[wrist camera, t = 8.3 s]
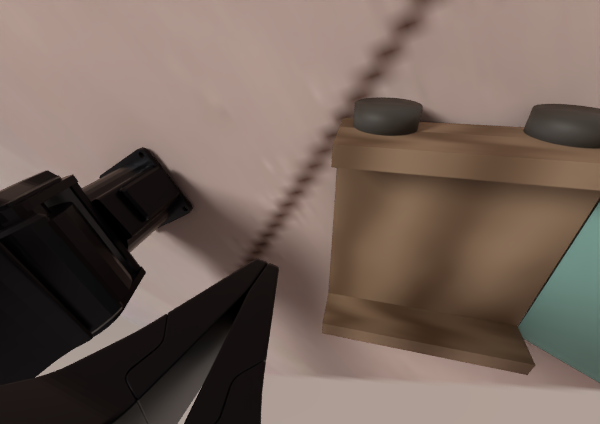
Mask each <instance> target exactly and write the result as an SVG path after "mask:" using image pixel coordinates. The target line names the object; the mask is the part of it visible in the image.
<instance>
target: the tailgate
mask: <svg viewBox="0 0 600 424" xmlns="http://www.w3.org/2000/svg"><path fill="white" fill-rule="evenodd" d="M518 329H519V331H520V333H521V335H522V337H523V339H525V340H527V341H528V342H530V343H532V344H533V345H535V346H537V347H539V348H540V349H542V350H544V351H545V352H547V353H549V354H551V355H552V356H554V357H556V358H558V359H559V360H561V361H563V362H564V363H566V364H568V365H570V366H571V367H573V368H575V369H576V370H578V371H580V372H582V373H583V374H585V375H587V376H589V377H590V378H592V379H594V380H595V381H597V382H599V383H600V200H599V201H598V203H597V204H596V206H595V207H594V209H593V211H592V212H591V214H590V215H589V217H588V218H587V220H586V221H585V223H584V224H583V226H582V228H581V229H580V231H579V232H578V234H577V235H576V237H575V238H574V240H573V241H572V243H571V245H570V246H569V248H568V249H567V251H566V252H565V254H564V255H563V257H562V259H561V260H560V262H559V263H558V265H557V266H556V268H555V269H554V271H553V272H552V274H551V276H550V277H549V279H548V280H547V282H546V283H545V285H544V286H543V288H542V289H541V291H540V293H539V294H538V296H537V297H536V299H535V300H534V302H533V303H532V305H531V306H530V308H529V310H528V311H527V313H526V314H525V316H524V317H523V319H522V320H521V322H520V324H519V325H518Z"/></svg>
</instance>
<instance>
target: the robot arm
mask: <svg viewBox="0 0 600 424" xmlns="http://www.w3.org/2000/svg"><path fill="white" fill-rule="evenodd" d="M142 153H143V154H144V155H143V154H142ZM77 182H78V181H77V179H76V178H75V177H74V175H70V176H66V177H63V178H61V177H60V176H57V175H55V174H53V173H51V172H49V171H48V170H47V171H44V172H41V173H39V174H36V175H34V176H32V177H29V178H27V179H25V180H22V181H20V182H18V183H16V184H13V185H11V186H9V187H7V188H5V189H3V190H1V191H0V424H178V422H179V420H180V419H181V417H182V416H183V414H184V413H185V411H186V410H187V408H188V407H189V405H190V404H191V402H192V401H193V399H194V397H195V396H196V394H197V393H198V391H199V390H200V388H201V387H202V388H201V390H200V392H199V394H198V396H197V398H196V400H195V402H194V404H193V406H192V408H191V410H190V412H189V414H188V416H187V418H186V420H185V423H184V424H261V403H262V388H263V379H264V372H265V365H266V357H267V350H268V343H269V336H270V329H271V322H272V315H273V307H274V300H275V293H276V286H277V279H278V272H279V267H278V266H275V265H273V264H271V263H269V264H268V263H267V262H266V261H263V260H261V259H255V260H254V261H252V262H250V263H249V264H247V265H245V266H244V267H242V268H240V269H239V270H237V271H236V272H234V273H232V274H231V275H229V276H227V277H226V278H224V279H223V280H221V281H219V282H218V283H216V284H214V285H213V286H211V287H209V288H208V289H206V290H205V291H203V292H201V293H200V294H198V295H196V296H195V297H193V298H192V299H190V300H188V301H187V302H185V303H183V304H182V305H180V306H178V307H177V308H175V309H174V310H172V311H170V312H169V313H168V315H167V314H165V315H164V316H162V317H160V318H159V319H157V320H156V321H154V322H152V323H150V324H149V325H147V326H145V327H143V328H142V329H140V330H138V331H137V332H135V333H133V334H131V335H129V336H127V337H125V338H123V339H121V340H119V341H117V342H115V343H113V344H111V345H109V346H107V347H105V348H103V349H101V350H99V351H97V352H95V353H93V354H91V355H89V356H87V357H85V358H83V359H81V360H79V361H77V362H75V363H73V364H71V365H69V366H66V367H64V368H62V369H60V370H57V371H55V372H52V373H49V374H46V375H43V376H39V377H36V376H37V375H39V374H40V373H41V372H42V371H44V370H45V369H46V368H47V367H49V366H50V365H51V364H52V363H54V362H55V361H56V360H58V359H59V358H60V357H62V356H64V355H65V354H67V353H68V352H70V351H71V350H73V349H74V348H76V347H78V346H80V345H82V344H84V343H86V342H88V341H90V340H91V339H92V338H93V337H94V336H96V335H98V334H99V333H101V332H102V331H103V330H105V329H106V328H107V327H109V326H110V325H111V324H112V323H113V322H114V321H115V320H116V319H117V318H118V317H119V316H120V314H121V313H122V312H123V310H124V308H125V307H126V305H127V303H128V302H129V300H130V298H131V297H132V295H133V293H134V292H135V290H136V288H137V287H138V285H139V283H140V282H141V280H142V278H143V277H144V275H145V273H146V271H145V270H144V269H143V267H140V266H139V264H138V263H137V262H136V260H135V259H134V258H133V256H132V255H131V254H130V252H131V251H132V250H133V249H134V248H136V247H137V246H138V245H139V244H140V243H141V242H142V241H143V240H144V239H146V238H147V237H148V236H149V235H150V234H151V233H152V232H153V231H155V230H156V229H157V228H159V227H161V226H163V225H165V224H167V223H169V222H172V221H174V220H176V219H178V218H180V217H182V216H184V215H186V214H188V213H190V212H191V211H192V209H193V207H192V205H191V204H190V203H189V201H188V200H187V199H186V197H185V196H184V195H183V194H182V192H181V191H180V190H179V189H178V187H177V186H176V185H175V184H174V182H173V181H172V180H171V179H170V177H169V176H168V175H167V174H166V172H165V171H164V170H163V169H162V167H161V166H160V165H159V164H158V162H157V161H156V160H155V158H154V157H153V156H152V155H151V153H150V152H149V151H148V150H147V149H146V148H143V147H142V148H139V149H137V150H136V151H134V152H133V153H132V154H130V155H129V156H127V157H126V158H124V159H123V160H122V161H120V162H119V163H117V164H116V165H115V166H113V167H112V168H110V169H109V170H107V171H106V172H105V173H103V174H102V175H100V179H98V180H97V181H95V182H93V183H91V184H89V185H87V186H85V187H84V188H81V187H80V186H79V184H78V183H77ZM35 377H36V378H35Z"/></svg>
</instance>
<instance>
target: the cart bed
mask: <svg viewBox="0 0 600 424" xmlns="http://www.w3.org/2000/svg"><path fill="white" fill-rule="evenodd" d="M422 107H423V106H422V105H421V104H420V103H417V102H414V101H411V100H405V99H398V98H367V99H361V100H358V101H356V102H355V109H354V118H343V120H342V123H341V125H340V128H339V130H338V133H337V135H336V138H335V140H334V142H333V148H332V166H331V167H335V168H337V176H336V191H335V205H334V220H333V235H332V250H331V265H330V279H329V293H328V298H327V304H326V309H325V314H324V319H323V327H322V333H324V334H329V335H334V336H338V337H343V338H348V339H353V340H358V341H363V342H368V343H373V344H378V345H383V346H388V347H393V348H398V349H402V350H407V351H412V352H417V353H422V354H427V355H432V356H437V357H442V358H447V359H452V360H457V361H462V362H466V363H471V364H476V365H481V366H486V367H491V368H496V369H501V370H506V371H511V372H516V373H521V374H526V375H528V374H529V372H530V371H531V370H532V369H533V367H534V366H535V363H534V361H533V359H532V357H531V355H530V352H529V350H528V348H527V346H526V344H525V342H524V339H523V337H522V335H521V333H520V331H519V329H518V326H517V325H518V324H519V322H520V321H521V319H522V317H523V316H524V314H525V313H526V311H527V310H528V308H529V307H530V305H531V304H532V302H533V300H534V299H535V297H536V296H537V294H538V293H539V291H540V290H541V288H542V286H543V285H544V283H545V282H546V280H547V279H548V277H549V276H550V274H551V272H552V271H553V269H554V268H555V266H556V265H557V263H558V262H559V260H560V258H561V257H562V255H563V254H564V252H565V251H566V249H567V248H568V246H569V244H570V243H571V241H572V240H573V238H574V237H575V235H576V234H577V232H578V230H579V229H580V227H581V226H582V224H583V223H584V221H585V220H586V218H587V216H588V215H589V213H590V212H591V210H592V209H593V207H594V206H595V204H596V202H597V201H598V199H599V198H600V109H599V108H593V107H586V106H577V105H565V104H541V105H536V106H534V107H533V109H532V111H531V113H530V116H529V118H528V121H527V123H526V125H525V127H507V126H488V125H469V124H450V123H431V122H419V121H420V117H421V112H422Z"/></svg>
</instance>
